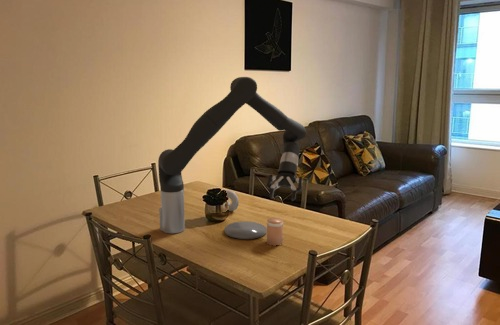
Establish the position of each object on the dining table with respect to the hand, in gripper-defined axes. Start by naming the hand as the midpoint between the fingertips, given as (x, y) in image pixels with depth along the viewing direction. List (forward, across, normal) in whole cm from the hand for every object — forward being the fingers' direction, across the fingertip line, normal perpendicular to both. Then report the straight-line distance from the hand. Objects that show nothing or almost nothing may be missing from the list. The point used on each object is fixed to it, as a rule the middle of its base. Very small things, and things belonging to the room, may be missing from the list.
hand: (281, 199), depth 168 cm
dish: (+13, -14, +7) cm, 20 cm away
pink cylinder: (+18, 0, +2) cm, 18 cm away
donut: (-3, -29, +24) cm, 37 cm away
